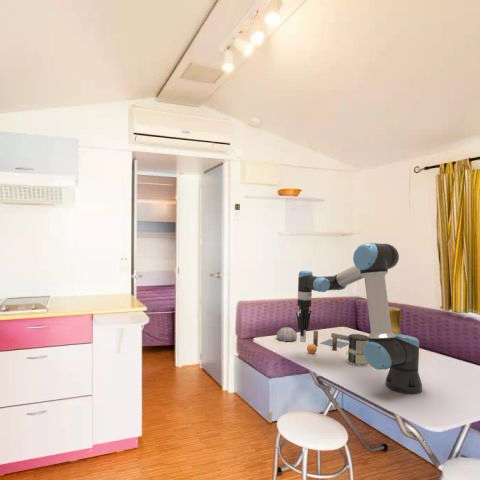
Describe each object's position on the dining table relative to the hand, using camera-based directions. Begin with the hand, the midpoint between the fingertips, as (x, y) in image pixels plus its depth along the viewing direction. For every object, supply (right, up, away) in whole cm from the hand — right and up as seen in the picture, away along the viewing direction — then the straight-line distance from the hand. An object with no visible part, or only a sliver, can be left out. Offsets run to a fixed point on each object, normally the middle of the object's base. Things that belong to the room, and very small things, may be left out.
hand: (302, 341), depth 213 cm
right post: (+21, -9, +16) cm, 28 cm away
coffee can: (+28, -10, -7) cm, 31 cm away
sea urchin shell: (-4, -9, +37) cm, 38 cm away
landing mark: (+25, -9, +31) cm, 41 cm away
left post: (+12, -9, +24) cm, 28 cm away
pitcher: (+56, -10, +26) cm, 63 cm away
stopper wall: (+34, -9, +42) cm, 55 cm away
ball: (+6, -6, +7) cm, 11 cm away
